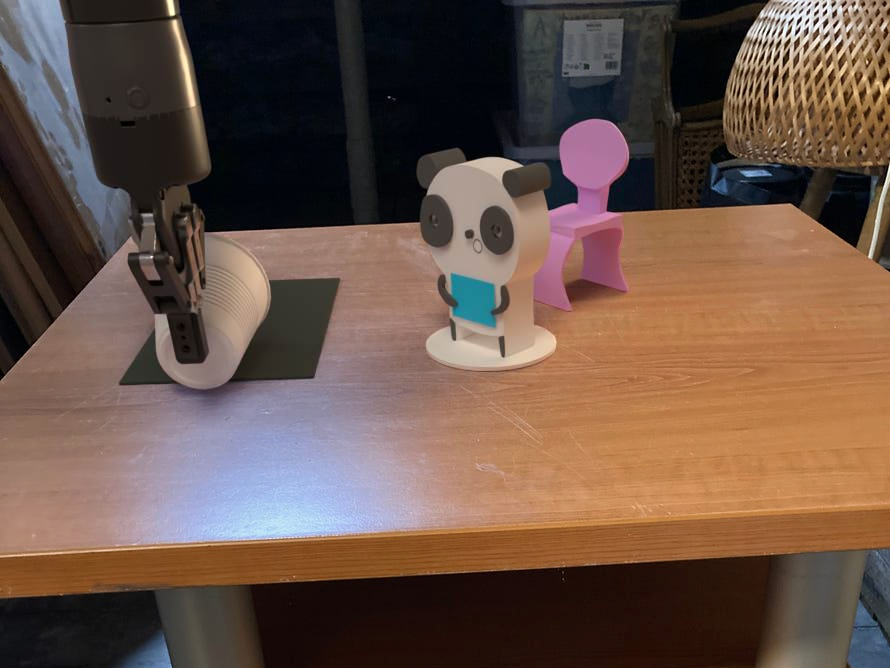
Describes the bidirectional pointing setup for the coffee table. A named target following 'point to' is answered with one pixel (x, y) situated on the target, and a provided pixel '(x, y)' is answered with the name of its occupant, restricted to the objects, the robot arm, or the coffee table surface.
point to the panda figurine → (486, 258)
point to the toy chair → (586, 212)
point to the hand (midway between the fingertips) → (193, 360)
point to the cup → (221, 314)
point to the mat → (267, 336)
